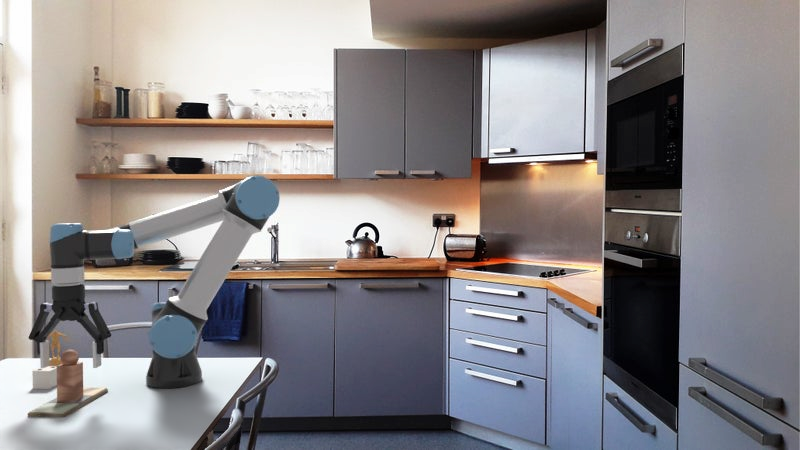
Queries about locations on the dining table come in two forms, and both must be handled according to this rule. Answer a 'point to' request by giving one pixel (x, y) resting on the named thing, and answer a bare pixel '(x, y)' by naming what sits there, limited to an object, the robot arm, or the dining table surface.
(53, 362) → the figurine
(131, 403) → the dining table surface
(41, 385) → the die
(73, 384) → the pawn
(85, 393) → the board
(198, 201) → the robot arm
